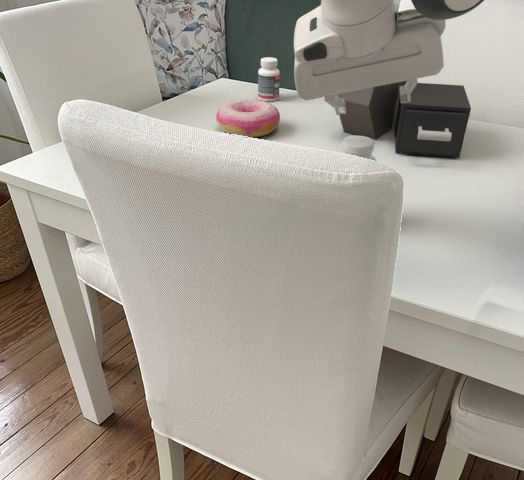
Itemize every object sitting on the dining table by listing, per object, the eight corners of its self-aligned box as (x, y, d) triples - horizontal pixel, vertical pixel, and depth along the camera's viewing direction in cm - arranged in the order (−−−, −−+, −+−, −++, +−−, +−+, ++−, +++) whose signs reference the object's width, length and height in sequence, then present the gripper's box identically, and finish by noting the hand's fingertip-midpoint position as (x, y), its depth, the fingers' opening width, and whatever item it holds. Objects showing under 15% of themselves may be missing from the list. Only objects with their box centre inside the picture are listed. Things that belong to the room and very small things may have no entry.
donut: (205, 133, 122) (203, 109, 119) (236, 115, 131) (236, 92, 128) (260, 145, 117) (260, 120, 114) (289, 125, 126) (290, 102, 123)
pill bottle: (277, 102, 138) (278, 62, 132) (256, 101, 139) (256, 61, 133) (280, 95, 142) (281, 57, 136) (259, 94, 143) (260, 55, 137)
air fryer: (459, 157, 113) (471, 108, 107) (395, 153, 115) (403, 103, 109) (453, 132, 124) (463, 85, 118) (394, 128, 126) (402, 81, 120)
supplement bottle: (337, 205, 97) (345, 129, 89) (375, 214, 95) (386, 137, 86) (323, 222, 92) (330, 144, 84) (362, 232, 90) (373, 152, 82)
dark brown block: (381, 89, 131) (368, 11, 113) (412, 95, 128) (404, 16, 110) (347, 148, 129) (329, 78, 110) (378, 156, 125) (364, 85, 107)
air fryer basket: (459, 164, 109) (470, 123, 103) (399, 160, 110) (406, 119, 105) (452, 131, 122) (460, 93, 117) (398, 127, 123) (404, 89, 118)
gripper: (443, -15, 71) (444, 76, 83) (285, 23, 77) (307, 102, 89) (446, 19, 68) (448, 108, 80) (282, 56, 74) (306, 133, 86)
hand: (373, 105), depth 85 cm, fingers open, 8 cm apart
